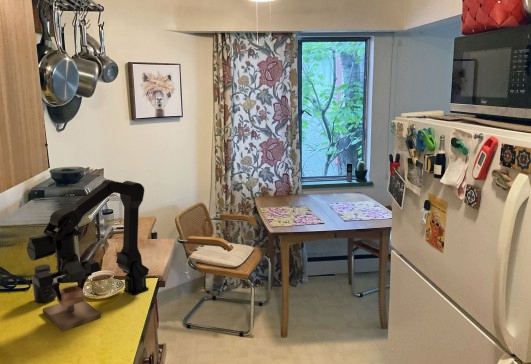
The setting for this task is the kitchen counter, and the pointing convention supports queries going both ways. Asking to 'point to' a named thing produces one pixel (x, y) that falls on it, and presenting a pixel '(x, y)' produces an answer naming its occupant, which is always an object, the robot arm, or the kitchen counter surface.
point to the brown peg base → (71, 315)
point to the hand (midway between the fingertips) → (70, 297)
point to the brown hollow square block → (71, 295)
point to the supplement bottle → (46, 292)
